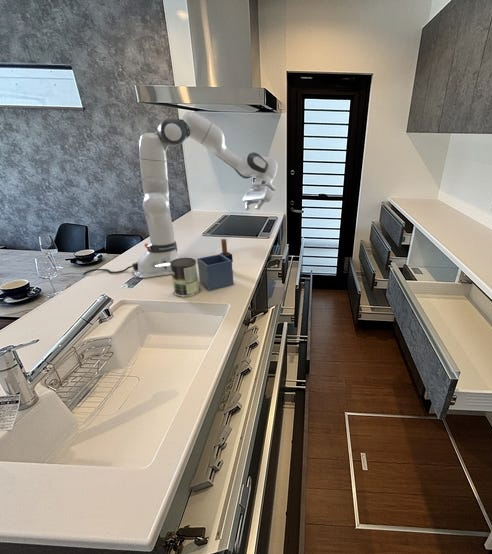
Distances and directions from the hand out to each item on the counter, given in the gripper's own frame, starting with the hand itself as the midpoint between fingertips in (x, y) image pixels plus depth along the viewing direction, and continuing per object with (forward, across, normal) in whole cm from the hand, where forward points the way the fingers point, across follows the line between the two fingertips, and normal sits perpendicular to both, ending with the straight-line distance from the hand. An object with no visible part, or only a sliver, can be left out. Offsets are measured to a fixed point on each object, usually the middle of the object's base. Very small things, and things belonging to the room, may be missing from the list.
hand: (251, 209), depth 156 cm
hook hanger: (+34, -4, +4) cm, 35 cm away
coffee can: (+51, +3, -15) cm, 53 cm away
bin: (+42, +4, -4) cm, 43 cm away
